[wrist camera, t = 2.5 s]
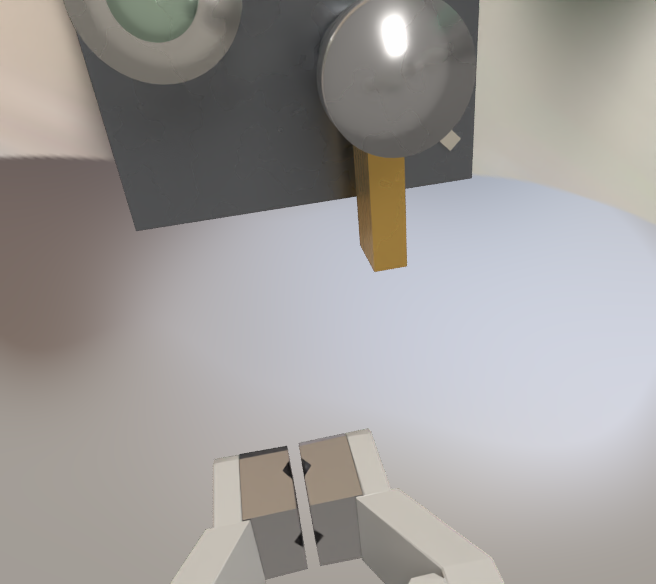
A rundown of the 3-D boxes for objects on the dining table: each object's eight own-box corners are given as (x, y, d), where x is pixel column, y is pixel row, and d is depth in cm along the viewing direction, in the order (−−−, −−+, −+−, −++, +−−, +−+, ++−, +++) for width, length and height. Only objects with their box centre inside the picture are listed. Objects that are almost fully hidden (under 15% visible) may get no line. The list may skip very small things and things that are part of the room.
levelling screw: (289, -7, 24) (315, 0, 18) (414, -21, 24) (479, -19, 18) (318, 239, 30) (344, 306, 24) (417, 223, 30) (467, 284, 24)
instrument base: (466, -138, 24) (560, -179, 18) (457, 167, 32) (522, 218, 25) (48, -99, 23) (-20, -128, 16) (140, 216, 30) (120, 286, 23)
